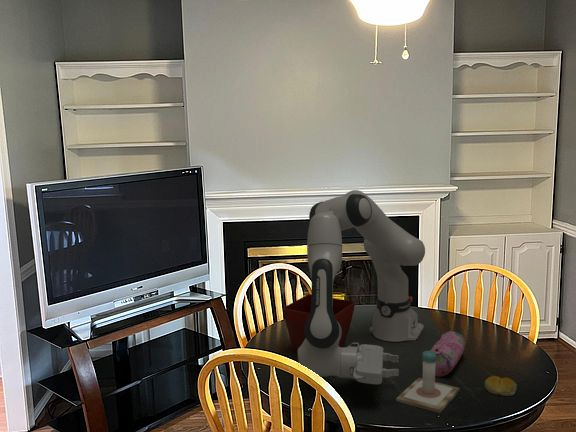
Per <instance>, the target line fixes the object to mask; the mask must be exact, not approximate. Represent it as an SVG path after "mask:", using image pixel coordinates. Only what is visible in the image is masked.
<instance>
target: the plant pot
mask: <svg viewBox="0 0 576 432" xmlns="http://www.w3.org/2000/svg"><path fill="white" fill-rule="evenodd" d="M355 304H356V302H355V301H352V300H347V299H342V298H341V299H340V298H337V297H335V298H334V297H333V313H334V316H335V318H336V320H337V321H338V323H339V324H340V326H341V330H342V334H341V338H340V341H339V345H338V346H339V347H344V346H345V343H346V340H347V338H348V335H349V330H350V328H351V324H352V321H353V316H354V311H355V307H356V305H355ZM282 310H283V316H284V321H285V325H286V329H287V333H288V336H289V339H290V341H291V344H292V347H293V348H294V349H293V350H294V351H295V353H296V354H297V350H298V348H299V347H300V346H301V345H302V343H303V342H304V340H305V338H306V337H305V333H304V328H305V323H306V321H307V319H308V316H309V314H310V311H311V293H309V294H306V295H304V296H302V297H300V298H298V299H297V300H295V301H293V302H291V303H289V304H287V305H285V306H283V309H282Z"/></svg>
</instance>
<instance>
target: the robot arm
mask: <svg viewBox="0 0 576 432" xmlns="http://www.w3.org/2000/svg"><path fill="white" fill-rule="evenodd" d="M308 220H309V224H308V225H309V226H308V231H307V239H306V240H307V242H306V253H307V262H308V268H309V273H310V277H311V278H310V280H311V293H310V294H311V311H310V314H309V316H308V319H307V321H306V323H305V328H304V333H305V337H306V338H305V340H304V342H303V343H302V345H301V346H300V347H299V348H298V350H297V353H296V358H297V364H298V363H300V364H301V365H303V366H305V367H307V368H308V369H310V370H312V371H313V372H315V373H316V374H318V375H319V376H318V377H323V378H325V377H331V376H335V377H337V378H340V379H341V378H344V379H353V380H355V381H357V382H358V383H363V384H369V385H381V384H382V383H383V378H390V377H398V376H399V374H400V373H399V372H400V370H399V368H397V367H396V368H395V367H392V368H390V369H387V368H384V367H383V365H384V362H387V361H390V362H392V363H394V364H395V363H397V364H398V363H399V359H400V358H399V357H400V356H399V355H397V354H391V353H389V352H384V347H382V346H381V345H375V344H365V343H364V344H360V343H359V342H352V343H350V344H349V345H348V346H346V347H344V346H343V347H339V346H338V345H339V341H340V338H341V334H342V330H341V326H340V324H339V323H338V321H337V320H336V318H335V316H334V313H333V298H334V293H333V292H334V280H335V277H336V275H337V274H338V272H339V271H340V269H341V267H342V260H343V236H342V231H345V230H350V229H353V228H355V230H356V231H357V232H358V234H360V235H361V236H362V238H364V240H363V247H364V252H366V254H367V255H368V257H369V258H370V260H371V261H372V264H373V267H374V269H375V273H376V278H377V297H376V301H375V302H376V303H375V304H376V309H375V310H373V315H372V316H373V319H372V326H370V327H369V332H370V333H372V335H373V336H374V337H375V338H376V339H379V340H381V341H386V342H392V343H393V342H394V343H395V342H396V343H397V342H406V341H417V340H418V338H419V336H420V335H421V333H422V332H421V331H423V330H424V329H425V326H424V324H422V323H420V322H418V321H419V319H418V316H419V315H418V313H417V312H416V311H415V310H414V309H413V308H412V307H411V303H412V302H413V299H414V298H413V296H410V295H409V277H408V275H407V274H406V273H405V272H404V271H403V269H402V267H401V266H405V267H406V266H407V267H408V266H418V265H420V264H421V263H422V262H423V260H424V258H425V255H426V247H425V244H424V242H423V241H422V240H421V239H419V238H417V237H415V236H414V235H412V234H410V233H409V232H408V231H406V230H405V229H404V228H403V227H401V226H399V225H398V224H397V223H396V222H395V221H393V220H392V219H390V218H389V217H388V215H386V213H385V212H384V211H383V210H382V209H381V208H380V207H379V205H378V204H376V202H375V201H374V200H373V199H372V198H370V197H369V196H368V195H367V194H366V193H364V192H363V191H362V190H358V189H353V190H350V191H348V192H346V193H345V194H344V195H342V196H340V195H339V196H335V197H333V198H330V199H326V200H325V201H319V202H317V203H315V204H314V205H312V207H311V208H310V210H309V214H308ZM416 339H417V340H416Z"/></svg>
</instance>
